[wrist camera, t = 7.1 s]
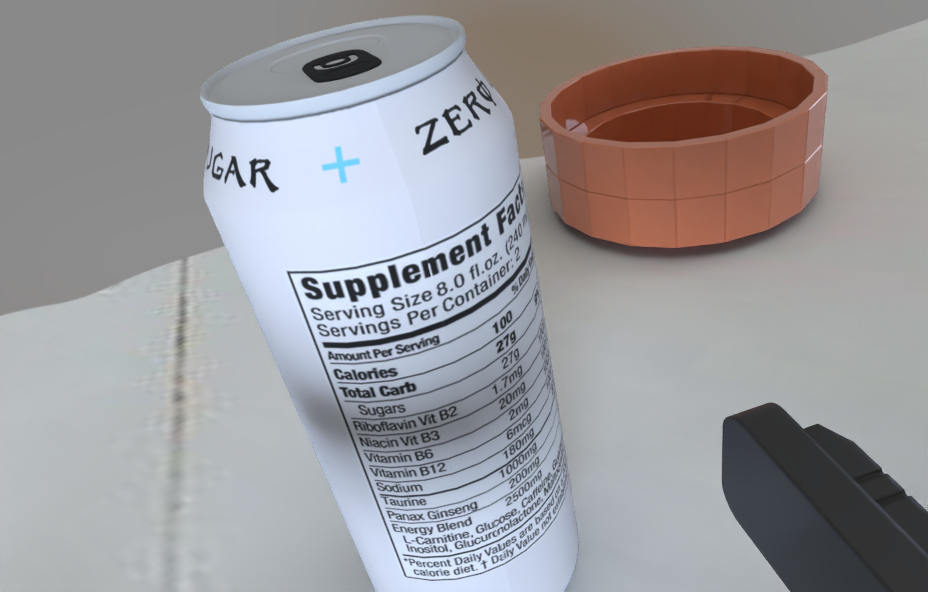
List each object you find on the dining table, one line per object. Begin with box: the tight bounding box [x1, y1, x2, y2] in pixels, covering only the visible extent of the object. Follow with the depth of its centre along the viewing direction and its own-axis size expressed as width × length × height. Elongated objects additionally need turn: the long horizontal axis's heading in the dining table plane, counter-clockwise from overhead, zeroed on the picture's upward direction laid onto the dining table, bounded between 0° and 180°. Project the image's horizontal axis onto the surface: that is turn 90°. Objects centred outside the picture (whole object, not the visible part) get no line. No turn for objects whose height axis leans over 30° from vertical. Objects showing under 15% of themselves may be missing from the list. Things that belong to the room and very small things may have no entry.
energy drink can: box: [200, 15, 579, 592], centre depth 17 cm, size 6×6×15 cm
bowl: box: [540, 46, 828, 248], centre depth 36 cm, size 13×13×6 cm
